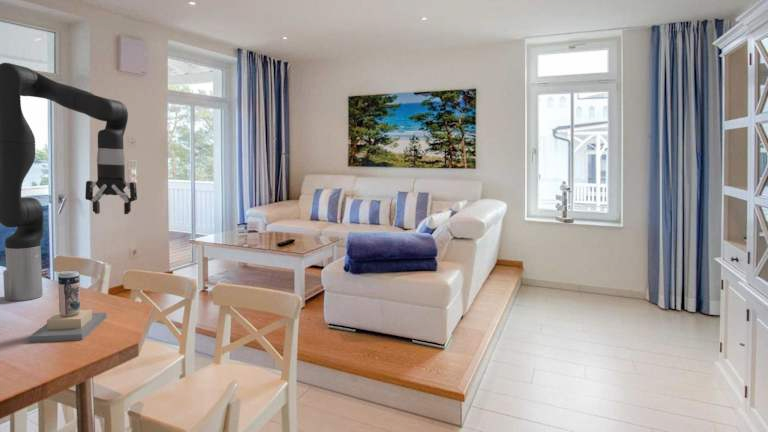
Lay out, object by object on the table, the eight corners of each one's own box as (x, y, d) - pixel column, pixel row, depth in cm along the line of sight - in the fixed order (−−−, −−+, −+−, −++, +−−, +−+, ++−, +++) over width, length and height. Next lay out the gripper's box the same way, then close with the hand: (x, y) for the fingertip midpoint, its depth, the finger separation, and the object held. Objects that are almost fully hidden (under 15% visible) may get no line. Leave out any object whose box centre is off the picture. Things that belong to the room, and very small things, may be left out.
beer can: (70, 318, 124) (68, 274, 122) (55, 316, 125) (53, 273, 123) (84, 312, 128) (83, 270, 127) (70, 311, 129) (69, 269, 128)
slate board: (29, 342, 117) (28, 327, 116) (60, 319, 134) (60, 305, 134) (82, 339, 120) (81, 324, 119) (106, 317, 137) (105, 304, 137)
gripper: (139, 164, 151) (139, 213, 153) (90, 162, 148) (91, 212, 150) (131, 164, 144) (132, 215, 146) (81, 162, 141) (82, 214, 143)
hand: (111, 213), depth 148 cm, fingers open, 8 cm apart
